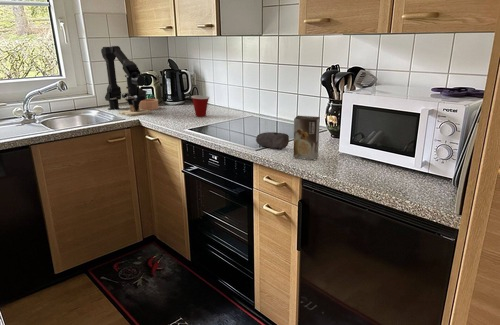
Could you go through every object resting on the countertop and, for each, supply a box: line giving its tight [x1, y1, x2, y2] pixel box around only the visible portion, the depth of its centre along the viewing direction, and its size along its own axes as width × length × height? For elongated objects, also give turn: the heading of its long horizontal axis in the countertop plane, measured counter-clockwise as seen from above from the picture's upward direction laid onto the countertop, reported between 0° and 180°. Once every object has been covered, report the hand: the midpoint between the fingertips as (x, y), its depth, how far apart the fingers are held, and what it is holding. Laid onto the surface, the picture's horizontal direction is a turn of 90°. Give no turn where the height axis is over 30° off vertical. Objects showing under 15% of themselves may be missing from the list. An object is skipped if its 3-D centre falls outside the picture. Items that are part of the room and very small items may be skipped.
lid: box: [118, 105, 152, 117], centre depth 233 cm, size 14×14×5 cm
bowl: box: [139, 98, 160, 111], centre depth 248 cm, size 12×12×6 cm
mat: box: [118, 112, 151, 118], centre depth 234 cm, size 15×15×1 cm
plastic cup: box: [190, 94, 210, 118], centre depth 226 cm, size 11×11×12 cm
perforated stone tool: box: [255, 131, 290, 150], centre depth 162 cm, size 15×5×7 cm, turn 59°
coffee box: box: [292, 115, 321, 160], centre depth 147 cm, size 9×6×16 cm
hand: (134, 110), depth 234 cm, fingers closed on lid, 4 cm apart
